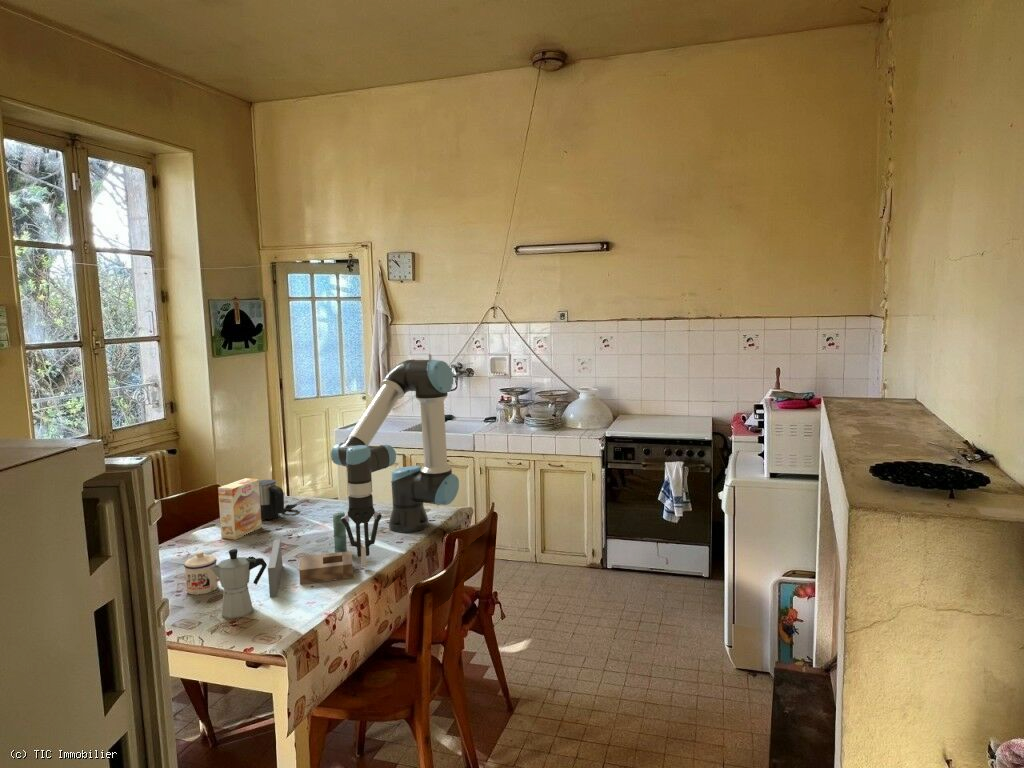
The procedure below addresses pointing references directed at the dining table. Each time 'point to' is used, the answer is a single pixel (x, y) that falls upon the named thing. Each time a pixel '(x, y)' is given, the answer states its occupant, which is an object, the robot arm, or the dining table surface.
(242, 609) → the coffee maker
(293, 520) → the dining table surface
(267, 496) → the milk frother
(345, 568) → the socket block
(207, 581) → the teacup with lid
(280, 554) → the wall
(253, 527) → the coffeecake box
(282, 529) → the dining table surface
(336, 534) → the dowel
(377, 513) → the robot arm
